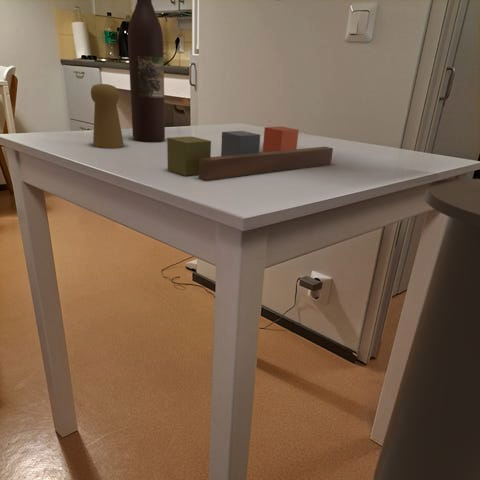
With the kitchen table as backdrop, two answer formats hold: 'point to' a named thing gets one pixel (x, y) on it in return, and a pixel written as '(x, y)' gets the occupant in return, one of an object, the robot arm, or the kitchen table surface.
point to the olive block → (186, 154)
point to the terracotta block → (280, 139)
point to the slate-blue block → (239, 143)
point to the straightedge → (262, 162)
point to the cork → (106, 117)
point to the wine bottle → (146, 73)
